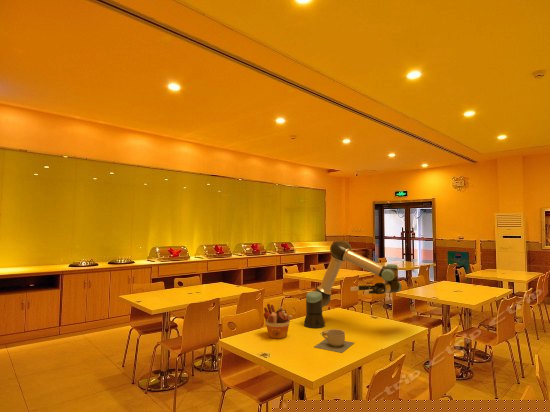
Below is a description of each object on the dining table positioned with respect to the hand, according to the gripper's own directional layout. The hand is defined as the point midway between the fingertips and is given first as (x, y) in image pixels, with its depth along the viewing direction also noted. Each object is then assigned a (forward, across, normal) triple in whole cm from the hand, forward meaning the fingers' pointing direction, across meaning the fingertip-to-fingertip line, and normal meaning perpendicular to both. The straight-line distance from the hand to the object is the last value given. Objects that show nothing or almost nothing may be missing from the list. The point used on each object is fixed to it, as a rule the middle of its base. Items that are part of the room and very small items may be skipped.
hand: (357, 290), depth 221 cm
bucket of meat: (+46, +27, -30) cm, 61 cm away
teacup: (+23, -5, -30) cm, 38 cm away
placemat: (+23, -5, -30) cm, 38 cm away
